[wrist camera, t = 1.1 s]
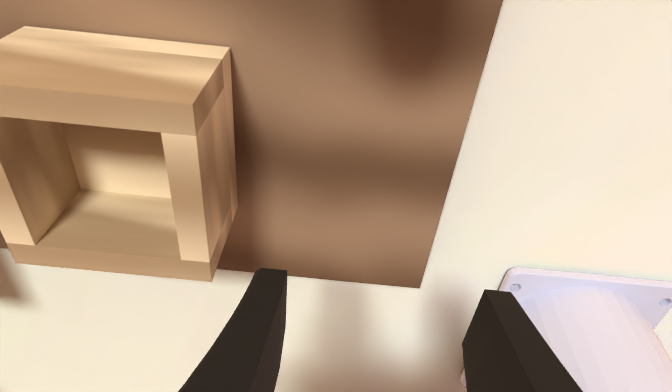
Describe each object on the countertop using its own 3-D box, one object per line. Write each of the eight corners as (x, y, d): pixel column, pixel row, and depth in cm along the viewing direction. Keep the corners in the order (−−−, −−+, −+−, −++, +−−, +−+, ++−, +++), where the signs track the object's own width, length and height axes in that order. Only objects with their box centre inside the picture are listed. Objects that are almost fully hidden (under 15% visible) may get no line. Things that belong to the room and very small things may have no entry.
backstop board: (417, 268, 22) (429, 367, 18) (-99, 218, 22) (-208, 307, 18) (510, -70, 14) (574, -31, 9) (-334, -161, 13) (-654, -162, 9)
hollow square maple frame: (237, 206, 19) (211, 281, 15) (75, 190, 18) (15, 262, 15) (230, 46, 15) (192, 104, 12) (24, 25, 15) (-71, 77, 11)
